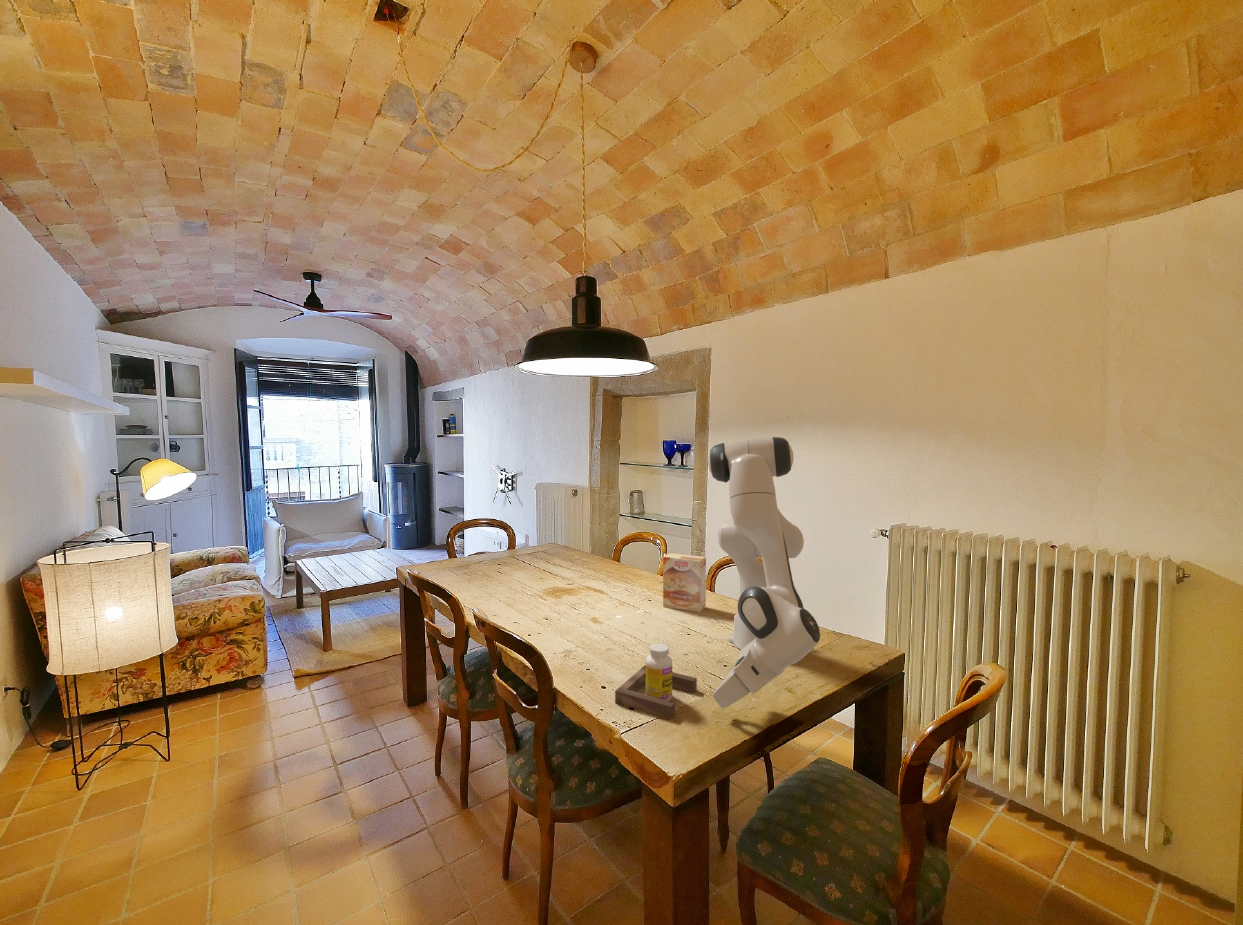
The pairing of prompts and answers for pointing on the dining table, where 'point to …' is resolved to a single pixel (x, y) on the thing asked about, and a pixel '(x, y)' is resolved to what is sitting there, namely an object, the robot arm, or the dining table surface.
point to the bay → (650, 704)
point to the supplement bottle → (659, 672)
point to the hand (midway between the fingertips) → (716, 694)
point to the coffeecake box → (684, 582)
